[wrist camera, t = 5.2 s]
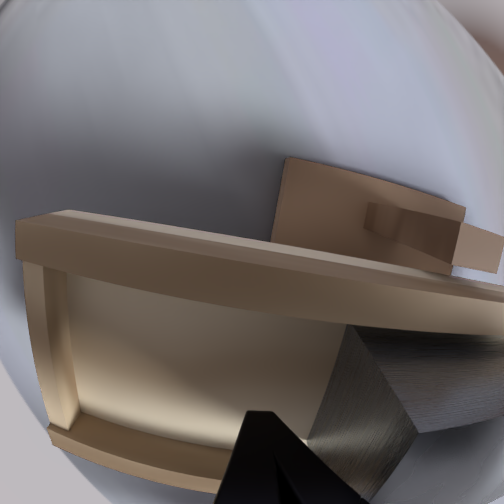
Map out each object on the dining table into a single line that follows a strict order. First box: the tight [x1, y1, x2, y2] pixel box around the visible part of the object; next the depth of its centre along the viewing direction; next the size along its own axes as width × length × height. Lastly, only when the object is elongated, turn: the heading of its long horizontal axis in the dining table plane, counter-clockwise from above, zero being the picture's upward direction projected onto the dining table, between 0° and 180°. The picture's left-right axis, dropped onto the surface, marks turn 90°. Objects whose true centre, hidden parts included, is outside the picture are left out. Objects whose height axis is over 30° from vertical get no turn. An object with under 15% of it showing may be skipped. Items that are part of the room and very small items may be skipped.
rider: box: [307, 324, 504, 504], centre depth 6 cm, size 5×7×4 cm
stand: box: [270, 157, 504, 275], centre depth 12 cm, size 14×10×7 cm
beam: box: [15, 210, 504, 494], centre depth 8 cm, size 8×25×3 cm, turn 80°
